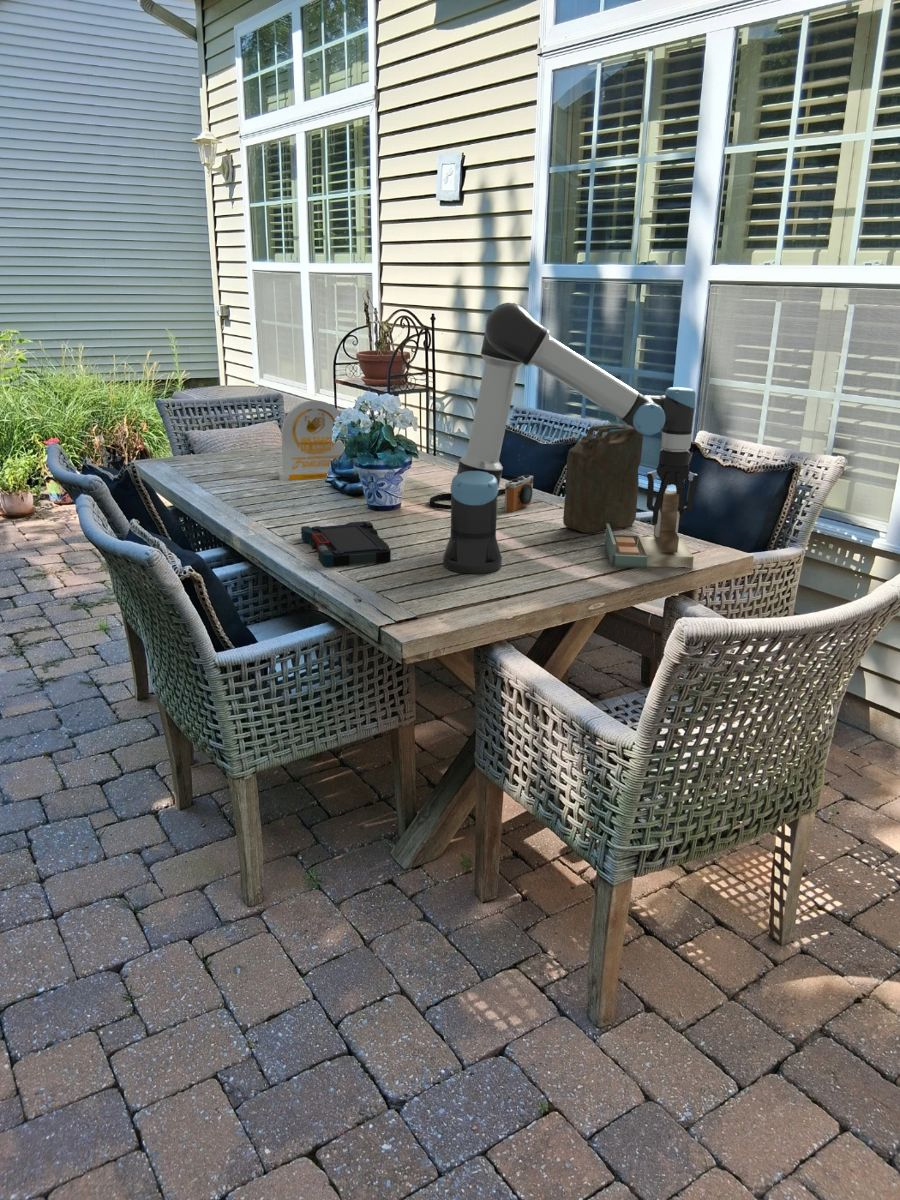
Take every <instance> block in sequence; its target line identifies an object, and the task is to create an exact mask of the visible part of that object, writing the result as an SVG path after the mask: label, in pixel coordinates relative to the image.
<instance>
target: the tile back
mask: <svg viewBox="0 0 900 1200" xmlns="http://www.w3.org/2000/svg"><path fill="white" fill-rule="evenodd" d="M615 542H616V551H618V546H620V547H635V540H634V538H628V537H615Z"/></svg>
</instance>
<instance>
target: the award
mask: <svg viewBox="0 0 900 1200" xmlns="http://www.w3.org/2000/svg"><path fill="white" fill-rule="evenodd" d="M340 413H341V412H340V410H338V409H337V407H335V406H333V405H332V404H330V403H328V402H326V401H321V400H316V399H315V400H307V401H303V402H301V403H298V404H297V405H295V406H294V407H293V408H292V409H290V410H289V412H288V413H287V415H286V416H285V417H284V420H283V423H282V427H281V431H280V432H281V433H280V434H281V451H282V469H278V470H276V476H277V478H278V479H279V481H296V480H297V481H298V480H299V481H300V480H316V479H317V480H319V479H327V478H326V476H327V474H328V471H329V468H330V463H331V459H334V458H338V457H339V456H340V455H341V454H342V453H343V451H344V444H343V443H341V442H337V443H333V442H332V428H333V424H334V421H335V418H336V417H337V415H339V414H340Z"/></svg>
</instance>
